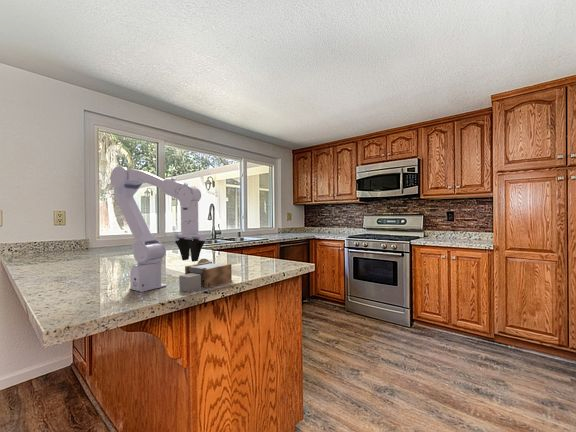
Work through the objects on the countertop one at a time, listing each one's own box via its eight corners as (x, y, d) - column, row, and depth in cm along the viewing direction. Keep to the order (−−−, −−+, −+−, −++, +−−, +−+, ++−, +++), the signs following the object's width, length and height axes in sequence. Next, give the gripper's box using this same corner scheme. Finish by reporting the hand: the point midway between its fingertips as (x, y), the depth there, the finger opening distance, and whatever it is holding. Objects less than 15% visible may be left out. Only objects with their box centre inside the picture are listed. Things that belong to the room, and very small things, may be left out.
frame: (206, 287, 101) (206, 269, 101) (185, 283, 107) (185, 266, 107) (231, 280, 111) (231, 264, 110) (210, 277, 117) (210, 261, 117)
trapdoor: (203, 274, 101) (203, 268, 101) (187, 271, 106) (187, 266, 106) (226, 268, 111) (226, 264, 111) (210, 266, 116) (210, 262, 116)
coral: (213, 277, 118) (213, 262, 118) (197, 278, 116) (197, 263, 116) (210, 270, 132) (210, 257, 132) (197, 271, 130) (196, 258, 130)
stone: (188, 292, 95) (188, 277, 95) (179, 290, 98) (179, 275, 98) (200, 288, 99) (200, 274, 99) (191, 287, 102) (191, 273, 102)
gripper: (213, 221, 98) (213, 260, 98) (186, 220, 106) (186, 257, 106) (195, 221, 92) (196, 263, 92) (169, 221, 100) (169, 260, 100)
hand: (190, 260), depth 99 cm, fingers open, 5 cm apart
